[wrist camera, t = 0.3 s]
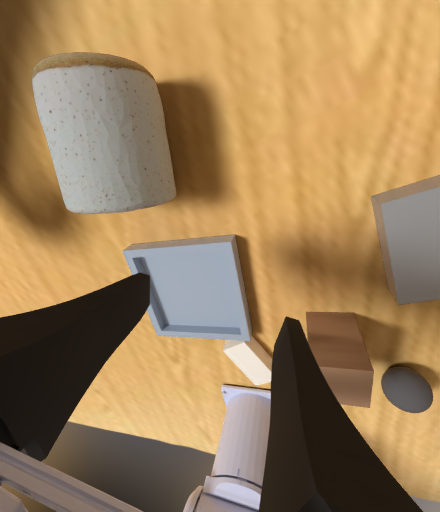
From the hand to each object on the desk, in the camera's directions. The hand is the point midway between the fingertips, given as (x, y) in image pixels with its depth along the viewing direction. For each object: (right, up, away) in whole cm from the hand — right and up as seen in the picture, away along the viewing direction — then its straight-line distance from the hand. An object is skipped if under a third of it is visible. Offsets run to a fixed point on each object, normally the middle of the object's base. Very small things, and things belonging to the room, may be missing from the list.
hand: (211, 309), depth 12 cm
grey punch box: (+15, +4, +5) cm, 16 cm away
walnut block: (+11, -4, +10) cm, 16 cm away
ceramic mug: (-7, +12, +8) cm, 16 cm away
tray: (-2, -1, +13) cm, 13 cm away
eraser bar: (+4, -8, +15) cm, 17 cm away
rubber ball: (+17, -9, +9) cm, 21 cm away
